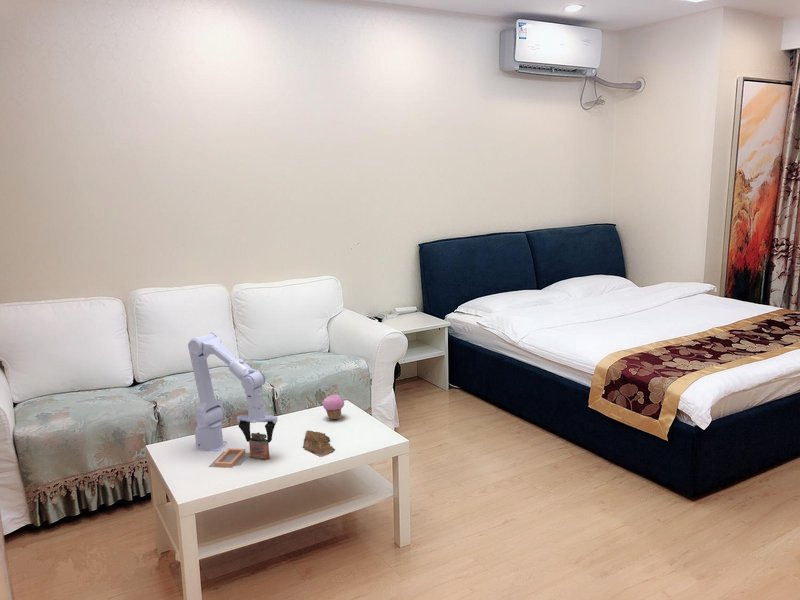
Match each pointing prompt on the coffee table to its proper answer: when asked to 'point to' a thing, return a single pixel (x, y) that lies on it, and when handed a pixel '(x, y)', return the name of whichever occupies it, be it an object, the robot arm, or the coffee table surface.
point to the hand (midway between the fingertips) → (259, 440)
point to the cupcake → (333, 406)
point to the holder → (230, 458)
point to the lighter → (259, 446)
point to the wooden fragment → (317, 443)
